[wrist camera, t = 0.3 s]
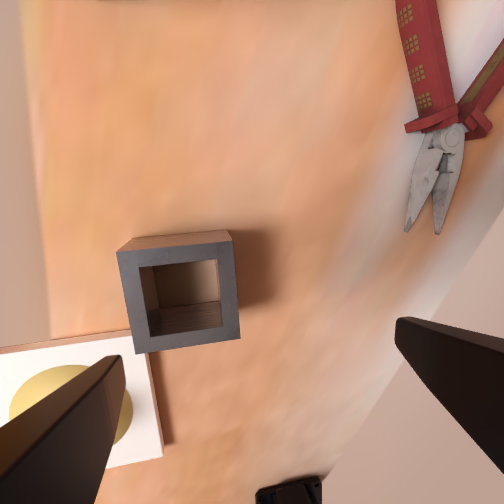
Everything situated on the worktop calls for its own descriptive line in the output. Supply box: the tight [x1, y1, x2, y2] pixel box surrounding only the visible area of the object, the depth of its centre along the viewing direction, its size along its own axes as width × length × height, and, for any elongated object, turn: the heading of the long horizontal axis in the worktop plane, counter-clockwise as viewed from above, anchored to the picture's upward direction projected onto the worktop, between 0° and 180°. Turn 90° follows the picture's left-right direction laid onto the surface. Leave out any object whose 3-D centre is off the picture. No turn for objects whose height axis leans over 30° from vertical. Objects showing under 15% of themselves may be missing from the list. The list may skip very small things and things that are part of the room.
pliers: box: [395, 0, 504, 235], centre depth 20 cm, size 12×20×3 cm, turn 175°
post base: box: [0, 329, 164, 469], centre depth 18 cm, size 11×11×6 cm
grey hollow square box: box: [116, 230, 240, 355], centre depth 18 cm, size 6×6×4 cm
